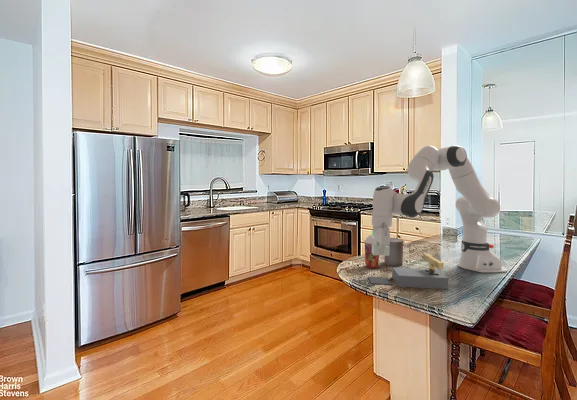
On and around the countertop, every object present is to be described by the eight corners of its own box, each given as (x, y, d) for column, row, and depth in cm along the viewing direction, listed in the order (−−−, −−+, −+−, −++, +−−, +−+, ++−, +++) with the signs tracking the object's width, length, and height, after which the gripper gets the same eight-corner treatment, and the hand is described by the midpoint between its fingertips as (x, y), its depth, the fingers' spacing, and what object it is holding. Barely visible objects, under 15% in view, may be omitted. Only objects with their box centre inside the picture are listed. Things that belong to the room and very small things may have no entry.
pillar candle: (399, 261, 173) (400, 235, 172) (404, 266, 163) (405, 239, 162) (382, 261, 174) (383, 235, 173) (386, 266, 164) (386, 238, 163)
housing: (437, 279, 143) (438, 268, 143) (448, 289, 132) (448, 276, 131) (392, 277, 146) (392, 266, 145) (398, 286, 134) (398, 274, 133)
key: (421, 267, 146) (422, 253, 145) (426, 267, 146) (427, 253, 145) (437, 278, 130) (438, 263, 129) (443, 278, 130) (444, 263, 129)
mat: (387, 278, 144) (387, 277, 144) (391, 285, 135) (391, 284, 135) (368, 277, 145) (368, 276, 145) (371, 284, 136) (371, 283, 136)
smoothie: (380, 265, 165) (381, 229, 163) (379, 270, 157) (380, 232, 155) (364, 263, 167) (365, 228, 166) (362, 268, 160) (364, 230, 158)
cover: (386, 252, 142) (387, 244, 141) (389, 255, 137) (389, 247, 136) (371, 252, 142) (371, 243, 142) (373, 255, 137) (373, 246, 137)
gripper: (394, 225, 128) (392, 257, 129) (384, 218, 148) (383, 246, 149) (379, 225, 128) (377, 257, 129) (371, 218, 148) (369, 246, 150)
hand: (380, 251), depth 139 cm, fingers closed on cover, 5 cm apart
